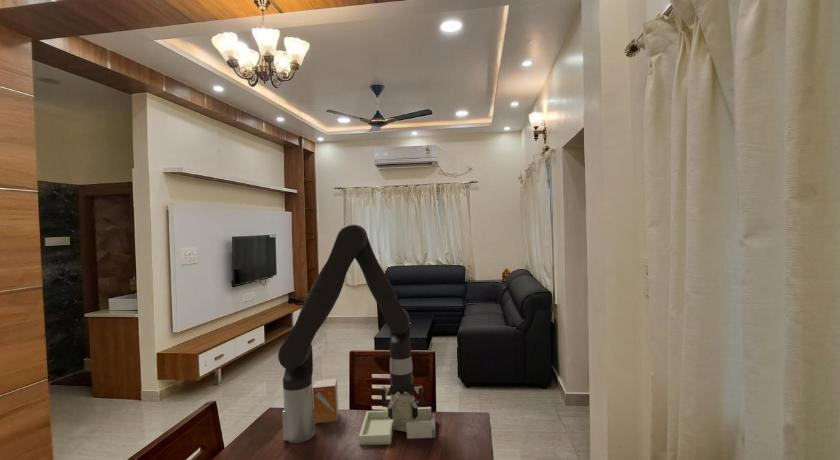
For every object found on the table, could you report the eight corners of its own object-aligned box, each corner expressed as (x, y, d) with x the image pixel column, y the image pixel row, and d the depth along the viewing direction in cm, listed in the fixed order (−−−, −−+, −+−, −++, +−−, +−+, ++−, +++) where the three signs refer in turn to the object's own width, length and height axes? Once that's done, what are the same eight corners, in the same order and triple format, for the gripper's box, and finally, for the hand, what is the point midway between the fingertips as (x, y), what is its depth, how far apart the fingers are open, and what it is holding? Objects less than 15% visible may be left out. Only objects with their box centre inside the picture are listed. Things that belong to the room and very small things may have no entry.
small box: (314, 424, 137) (312, 387, 137) (316, 415, 144) (314, 380, 143) (337, 421, 138) (335, 385, 138) (338, 412, 145) (337, 378, 144)
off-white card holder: (407, 438, 125) (406, 423, 125) (408, 421, 136) (408, 407, 136) (435, 437, 125) (435, 422, 125) (435, 420, 136) (434, 406, 135)
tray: (359, 445, 123) (358, 436, 123) (367, 419, 139) (366, 411, 139) (391, 444, 123) (390, 434, 123) (395, 418, 139) (394, 410, 139)
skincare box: (415, 426, 131) (413, 390, 131) (409, 433, 127) (407, 396, 127) (398, 423, 134) (396, 388, 134) (392, 429, 130) (390, 393, 130)
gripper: (378, 374, 126) (380, 424, 127) (422, 373, 126) (424, 423, 127) (381, 365, 134) (383, 413, 134) (422, 364, 134) (424, 411, 134)
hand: (403, 417), depth 130 cm, fingers closed on skincare box, 7 cm apart
